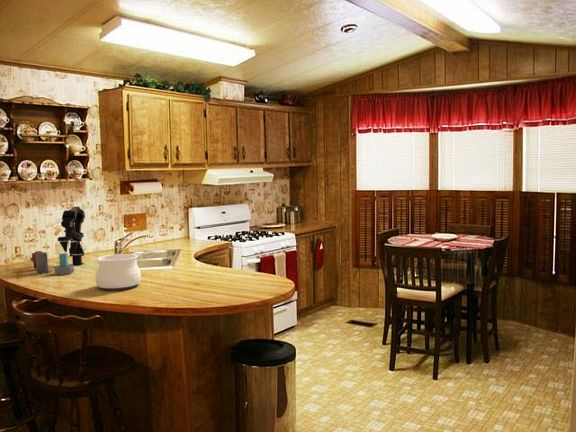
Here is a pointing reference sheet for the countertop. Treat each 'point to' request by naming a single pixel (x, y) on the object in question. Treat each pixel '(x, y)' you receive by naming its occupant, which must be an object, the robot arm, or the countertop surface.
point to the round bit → (42, 262)
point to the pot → (118, 272)
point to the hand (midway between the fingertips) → (70, 252)
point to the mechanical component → (35, 259)
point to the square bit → (63, 259)
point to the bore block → (64, 270)
